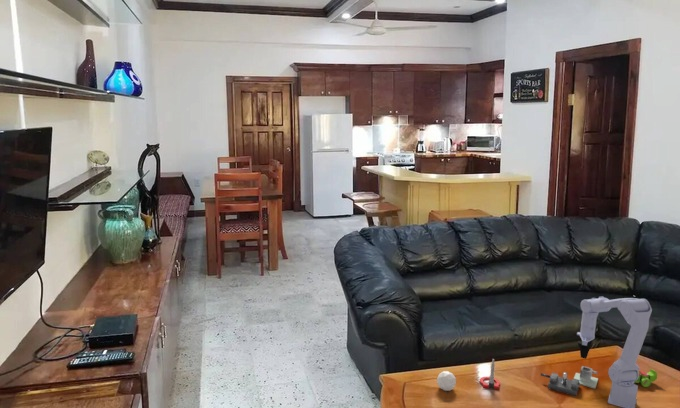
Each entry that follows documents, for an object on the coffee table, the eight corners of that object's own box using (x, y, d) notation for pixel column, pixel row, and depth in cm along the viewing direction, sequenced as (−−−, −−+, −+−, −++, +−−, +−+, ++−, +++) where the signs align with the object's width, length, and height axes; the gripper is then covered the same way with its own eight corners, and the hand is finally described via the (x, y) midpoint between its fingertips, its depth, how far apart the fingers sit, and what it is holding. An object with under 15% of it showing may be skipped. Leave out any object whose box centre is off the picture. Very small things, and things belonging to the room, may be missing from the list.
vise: (579, 386, 223) (581, 372, 221) (576, 396, 215) (577, 381, 214) (542, 376, 230) (543, 362, 229) (538, 385, 223) (539, 371, 222)
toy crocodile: (613, 386, 224) (615, 373, 223) (606, 378, 231) (607, 365, 229) (659, 387, 224) (661, 374, 223) (651, 379, 230) (653, 367, 229)
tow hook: (478, 378, 228) (480, 388, 219) (480, 350, 227) (483, 359, 218) (498, 380, 227) (501, 390, 218) (500, 352, 225) (504, 361, 216)
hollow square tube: (596, 380, 227) (597, 369, 226) (595, 384, 223) (596, 374, 222) (580, 376, 230) (582, 365, 229) (579, 380, 227) (580, 369, 226)
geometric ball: (449, 393, 220) (462, 380, 218) (443, 396, 213) (456, 381, 211) (436, 379, 223) (448, 366, 222) (430, 381, 216) (443, 367, 215)
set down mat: (598, 379, 229) (598, 378, 229) (595, 388, 221) (595, 387, 221) (575, 373, 233) (575, 372, 233) (572, 382, 226) (572, 381, 226)
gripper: (580, 318, 237) (577, 345, 240) (575, 329, 225) (572, 358, 228) (598, 321, 233) (594, 350, 236) (593, 333, 221) (590, 362, 224)
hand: (584, 354), depth 231 cm, fingers open, 7 cm apart
